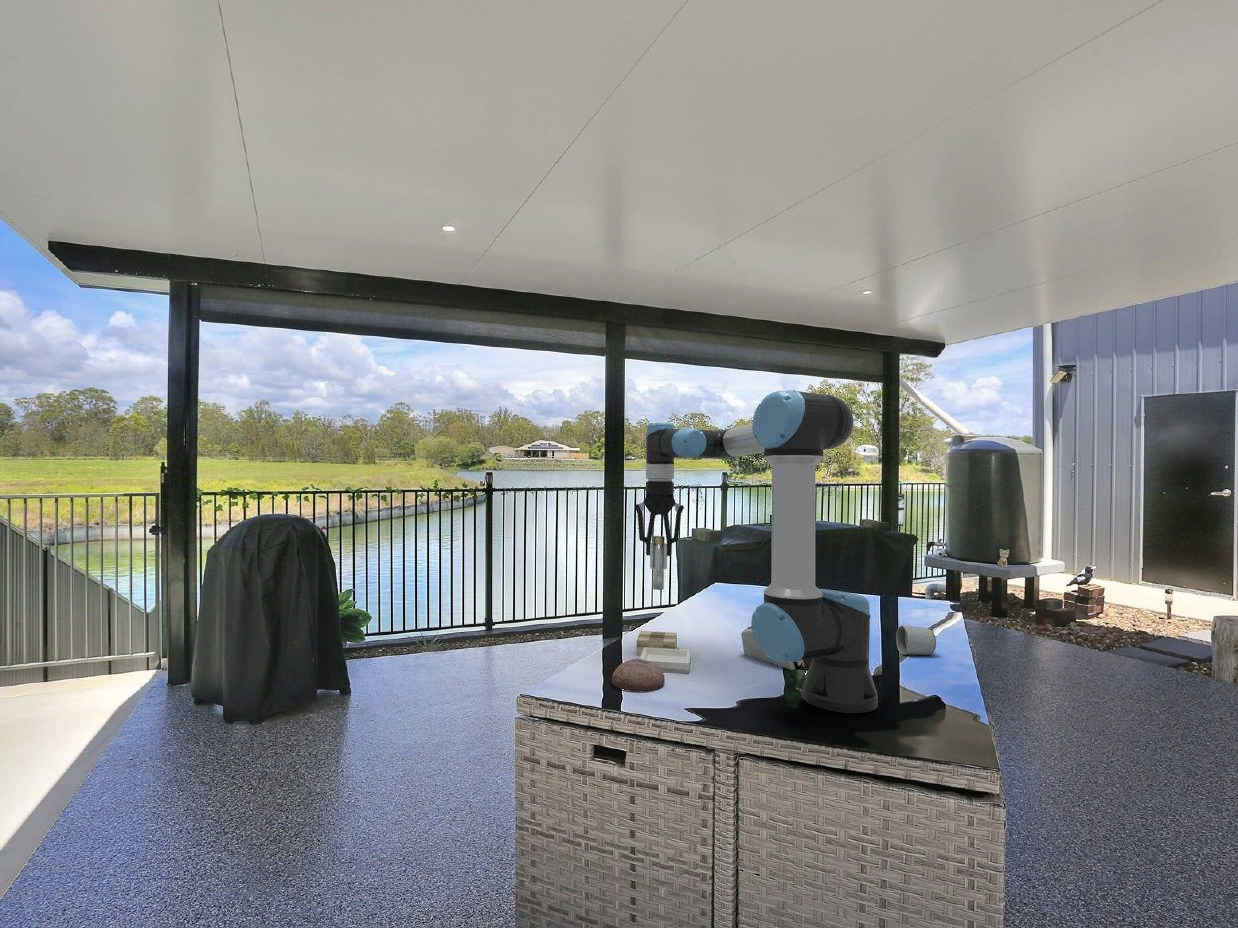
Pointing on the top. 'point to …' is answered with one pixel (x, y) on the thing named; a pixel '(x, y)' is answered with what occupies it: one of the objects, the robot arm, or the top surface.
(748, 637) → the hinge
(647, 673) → the decorative stone
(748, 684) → the top surface
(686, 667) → the tray
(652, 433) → the robot arm
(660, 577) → the pin
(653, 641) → the socket block
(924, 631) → the grey hollow cylinder
